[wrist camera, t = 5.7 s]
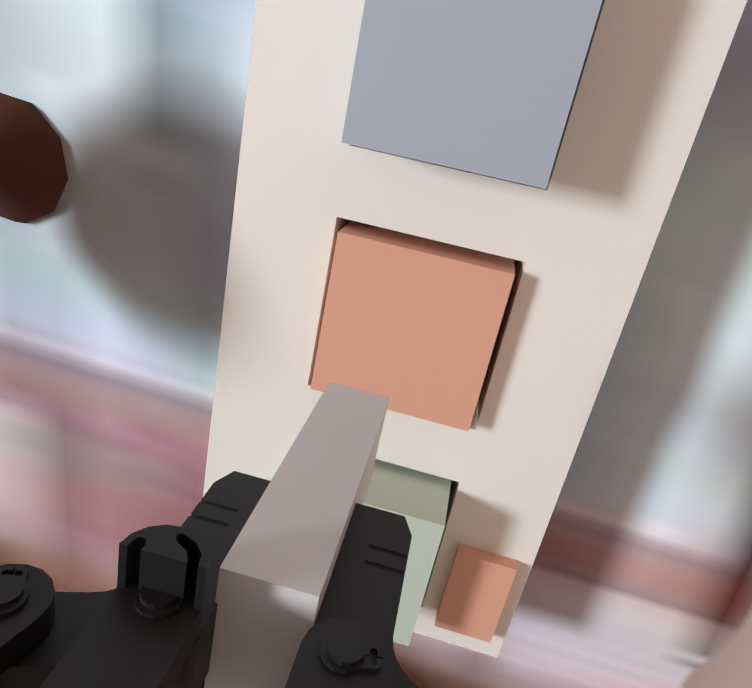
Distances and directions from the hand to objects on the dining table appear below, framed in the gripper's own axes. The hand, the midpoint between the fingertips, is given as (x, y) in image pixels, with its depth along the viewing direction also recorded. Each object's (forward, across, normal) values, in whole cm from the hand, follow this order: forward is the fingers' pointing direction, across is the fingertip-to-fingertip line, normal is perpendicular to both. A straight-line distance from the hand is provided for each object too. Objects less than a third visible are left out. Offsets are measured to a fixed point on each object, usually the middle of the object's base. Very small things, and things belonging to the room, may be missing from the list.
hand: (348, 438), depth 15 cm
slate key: (+10, 0, -9) cm, 14 cm away
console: (+12, 0, 0) cm, 12 cm away
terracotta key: (+12, 0, 0) cm, 12 cm away
